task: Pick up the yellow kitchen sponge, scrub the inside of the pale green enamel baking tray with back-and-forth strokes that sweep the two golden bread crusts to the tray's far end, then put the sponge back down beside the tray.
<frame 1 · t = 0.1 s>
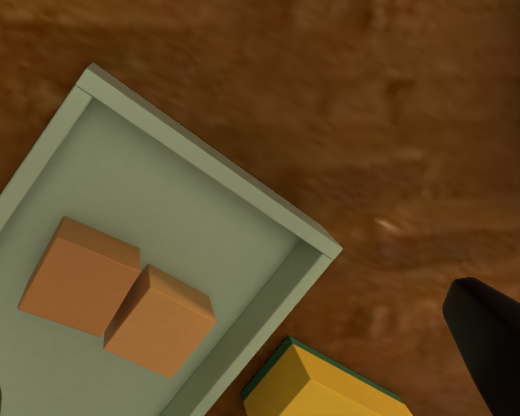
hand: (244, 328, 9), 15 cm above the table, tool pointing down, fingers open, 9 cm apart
sponge: (324, 394, 32), on the table
crust a: (158, 307, 25), point 1 cm above the table, touching tray
tray: (102, 311, 25), on the table
crust b: (85, 264, 23), point 1 cm above the table, touching tray
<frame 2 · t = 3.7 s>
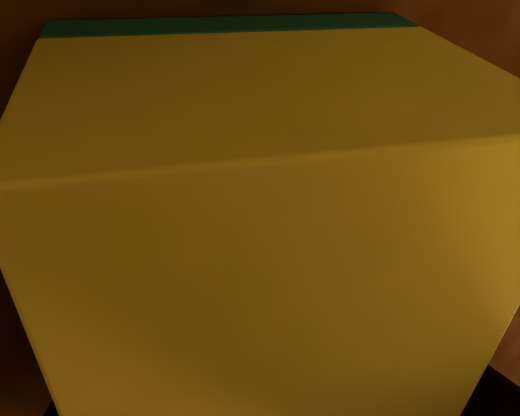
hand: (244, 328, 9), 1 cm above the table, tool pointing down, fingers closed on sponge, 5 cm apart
sponge: (233, 290, 10), on the table, touching gripper
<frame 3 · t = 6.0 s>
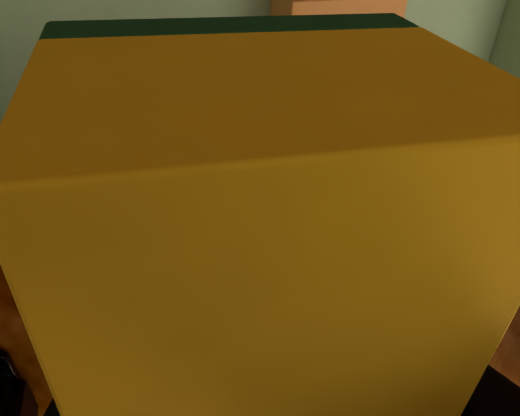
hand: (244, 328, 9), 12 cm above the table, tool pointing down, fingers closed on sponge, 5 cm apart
sponge: (233, 290, 10), point 11 cm above the table, touching gripper
crust a: (318, 40, 18), point 1 cm above the table, touching tray
when the fingers open (1 cm above the table, at t = 17.5 s): sponge stays where it is, on the table.
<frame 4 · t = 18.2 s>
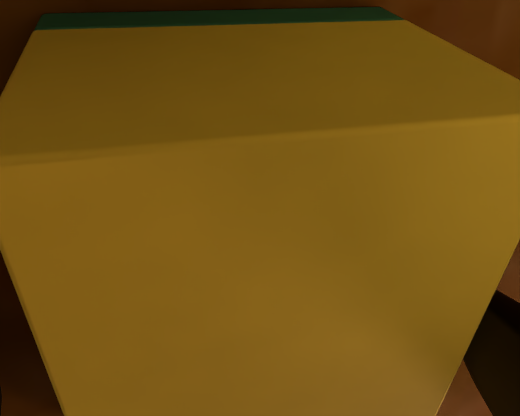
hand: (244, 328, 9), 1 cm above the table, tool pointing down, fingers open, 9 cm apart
sponge: (226, 281, 10), on the table
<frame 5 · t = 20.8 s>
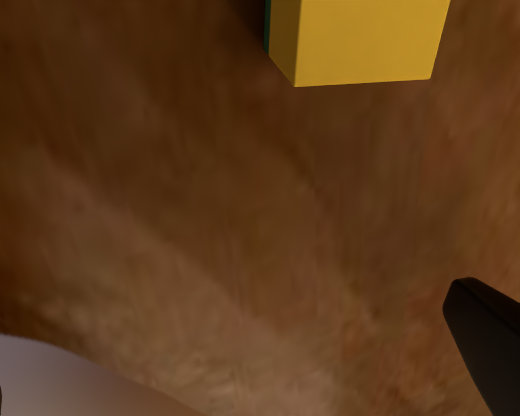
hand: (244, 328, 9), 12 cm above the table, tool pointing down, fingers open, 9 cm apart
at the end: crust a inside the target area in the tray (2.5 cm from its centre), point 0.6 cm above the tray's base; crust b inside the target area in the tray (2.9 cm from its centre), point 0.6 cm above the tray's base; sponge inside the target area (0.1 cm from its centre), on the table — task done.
